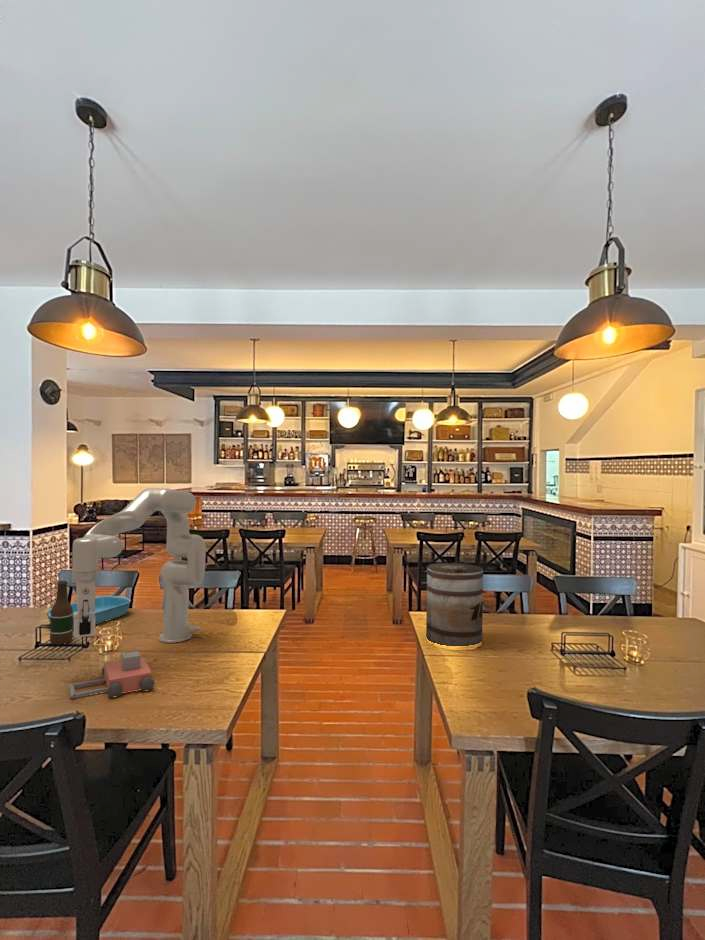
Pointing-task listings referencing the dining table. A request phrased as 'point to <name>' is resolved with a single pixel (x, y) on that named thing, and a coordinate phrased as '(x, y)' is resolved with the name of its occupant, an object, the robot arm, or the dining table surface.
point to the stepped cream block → (76, 624)
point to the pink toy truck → (120, 676)
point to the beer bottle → (61, 617)
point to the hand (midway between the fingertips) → (84, 631)
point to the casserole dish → (105, 608)
